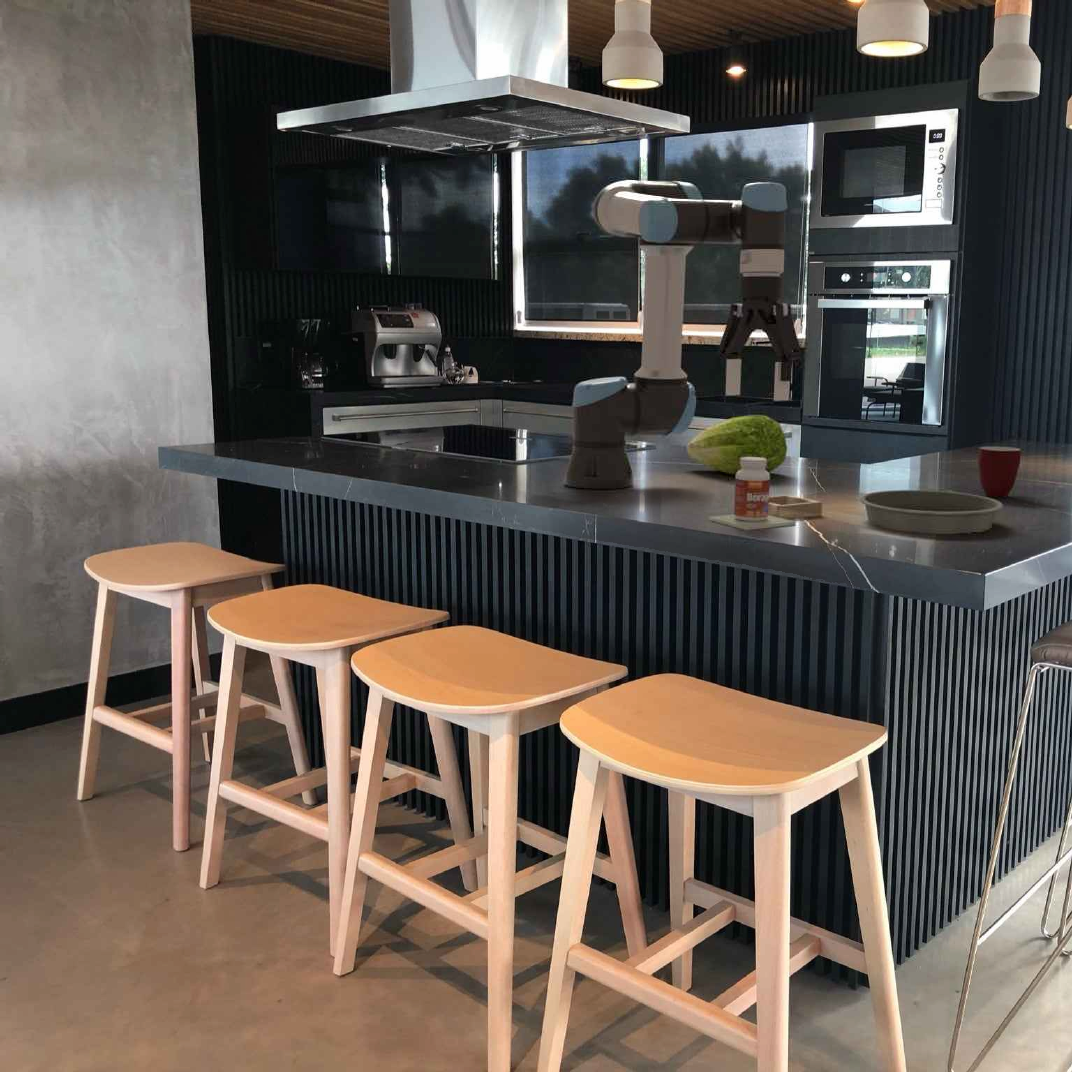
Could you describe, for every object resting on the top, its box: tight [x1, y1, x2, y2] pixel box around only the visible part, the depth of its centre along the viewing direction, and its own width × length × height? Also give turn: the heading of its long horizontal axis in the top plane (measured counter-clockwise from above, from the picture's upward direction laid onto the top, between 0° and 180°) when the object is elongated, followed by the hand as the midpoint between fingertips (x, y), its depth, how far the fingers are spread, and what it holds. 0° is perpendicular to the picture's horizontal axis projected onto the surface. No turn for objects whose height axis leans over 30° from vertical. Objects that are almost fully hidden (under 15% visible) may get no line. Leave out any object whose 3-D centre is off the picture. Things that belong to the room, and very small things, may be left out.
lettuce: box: [686, 414, 788, 476], centre depth 272 cm, size 17×24×14 cm
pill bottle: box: [733, 457, 771, 521], centre depth 208 cm, size 6×6×11 cm
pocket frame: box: [768, 494, 823, 520], centre depth 218 cm, size 10×10×2 cm
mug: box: [977, 446, 1022, 499], centre depth 239 cm, size 11×8×10 cm
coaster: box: [708, 514, 796, 531], centre depth 209 cm, size 11×11×1 cm
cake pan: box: [859, 489, 1004, 535], centre depth 209 cm, size 25×25×4 cm
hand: (756, 397), depth 205 cm, fingers open, 13 cm apart
